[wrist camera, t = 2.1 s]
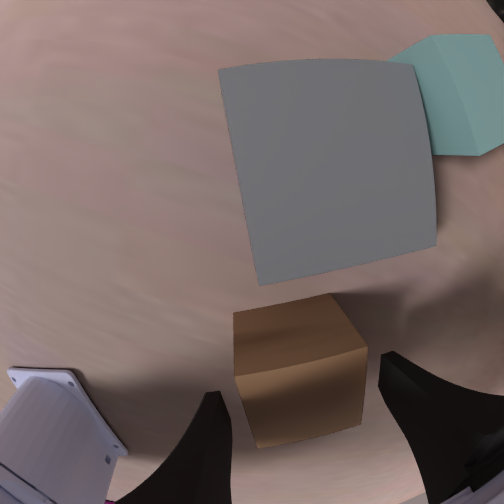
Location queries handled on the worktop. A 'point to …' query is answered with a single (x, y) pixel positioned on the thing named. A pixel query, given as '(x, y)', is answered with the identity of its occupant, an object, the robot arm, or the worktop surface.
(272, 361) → the walnut cube
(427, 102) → the teal cube
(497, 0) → the beer stein
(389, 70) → the base block
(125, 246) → the worktop surface
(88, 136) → the worktop surface
